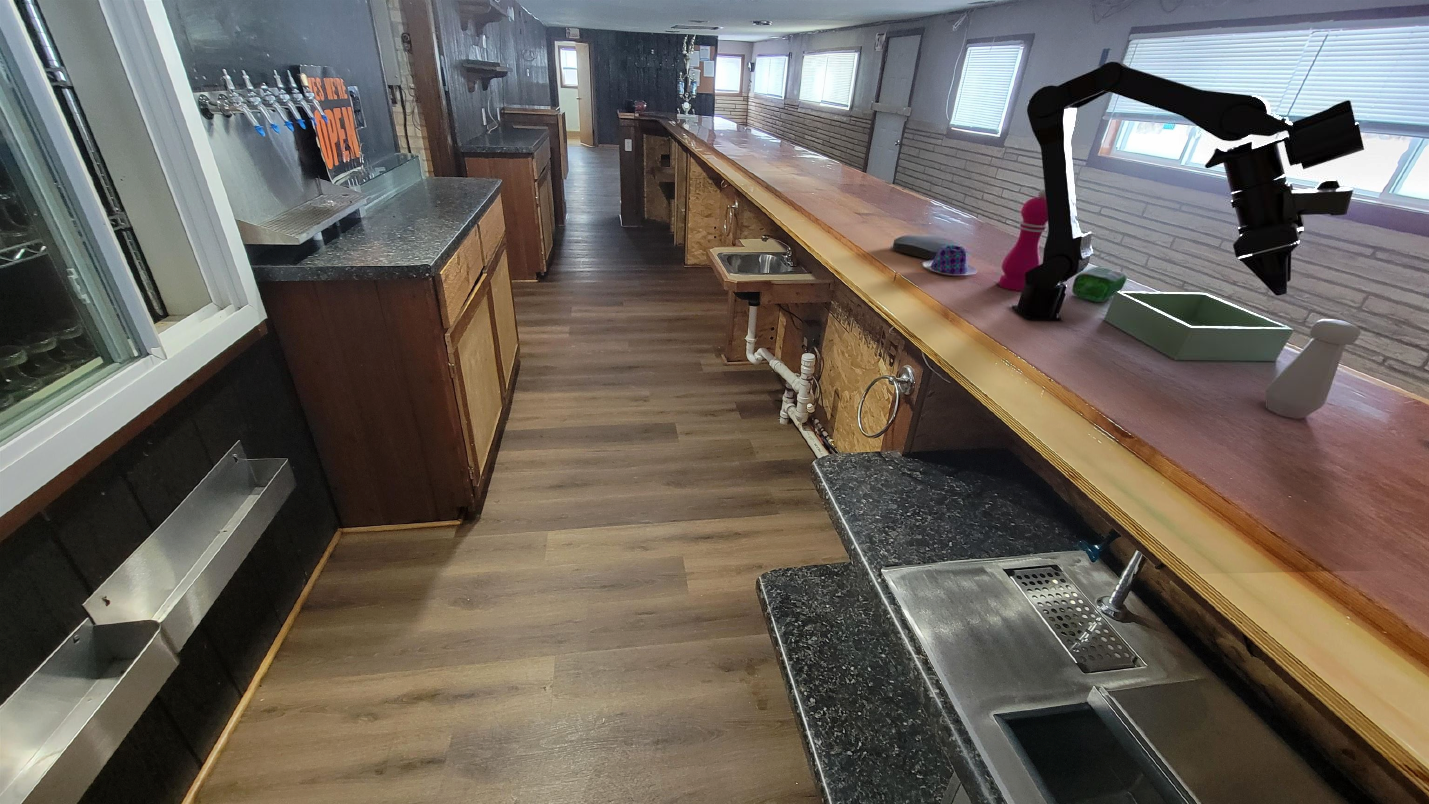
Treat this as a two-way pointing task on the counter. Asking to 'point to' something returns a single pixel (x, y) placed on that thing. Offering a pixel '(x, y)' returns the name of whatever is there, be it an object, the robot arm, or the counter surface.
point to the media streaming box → (922, 245)
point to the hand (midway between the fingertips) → (1283, 288)
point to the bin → (1197, 326)
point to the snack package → (1098, 283)
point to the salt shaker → (1311, 370)
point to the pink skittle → (1025, 244)
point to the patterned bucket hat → (950, 262)
